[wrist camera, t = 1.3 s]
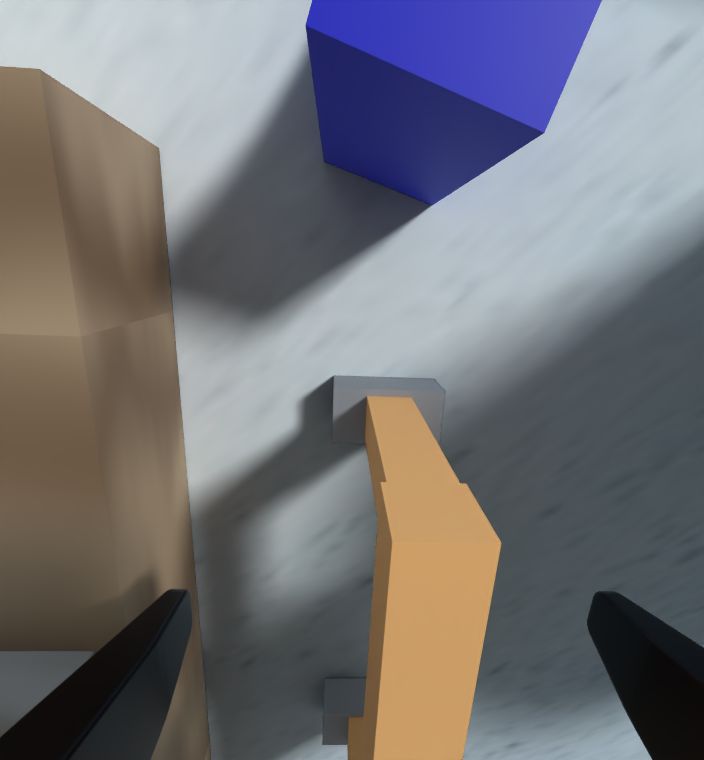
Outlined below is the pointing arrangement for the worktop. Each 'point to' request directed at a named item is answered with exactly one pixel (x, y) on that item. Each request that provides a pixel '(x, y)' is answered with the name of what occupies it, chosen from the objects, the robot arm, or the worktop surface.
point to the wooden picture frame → (87, 402)
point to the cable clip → (438, 84)
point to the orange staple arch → (413, 581)
